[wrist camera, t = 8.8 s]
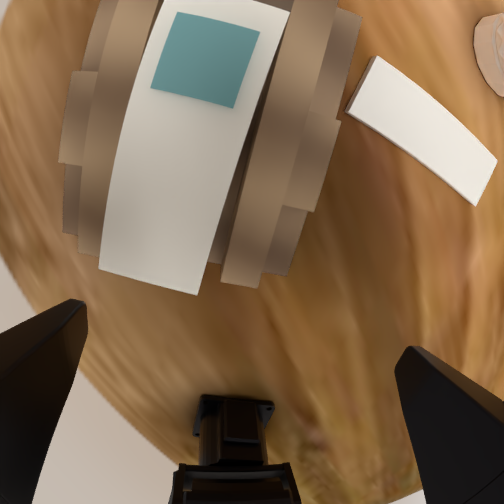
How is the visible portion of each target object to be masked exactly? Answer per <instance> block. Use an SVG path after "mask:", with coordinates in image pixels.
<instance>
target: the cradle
mask: <svg viewBox="0 0 504 504" xmlns="http://www.w3.org/2000/svg"><path fill="white" fill-rule="evenodd" d="M253 1H257V2H260V3H264V4H267V5H270V6H273V7H276V8H279V9H282V10H285V11H288V12H290V14H289V17H288V19H287V22H286V25H285V27H284V30H283V33H282V35H281V38H280V41H279V43H278V46H277V49H276V52H275V54H274V57H273V60H272V63H271V65H270V68H269V71H268V74H267V76H266V79H265V82H264V85H263V88H262V91H261V93H260V96H259V99H258V102H257V105H256V108H255V111H254V114H253V117H252V120H251V123H250V125H249V128H248V131H247V134H246V137H245V140H244V143H243V147H242V150H241V153H240V156H239V159H238V162H237V165H236V168H235V171H234V174H233V177H232V181H231V184H230V187H229V190H228V193H227V196H226V200H225V203H224V206H223V209H222V213H221V216H220V219H219V222H218V226H217V229H216V232H215V236H214V239H213V242H212V246H211V249H210V253H209V256H208V259H207V262H212V263H217V264H221V282H224V283H230V284H235V285H241V286H247V287H252V288H258V285H259V281H260V278H261V275H262V272H265V273H270V274H276V275H281V276H287V274H288V271H289V268H290V265H291V262H292V259H293V256H294V253H295V250H296V247H297V243H298V240H299V237H300V234H301V231H302V228H303V225H304V222H305V219H306V216H307V212H308V211H311V212H314V210H315V207H316V204H317V201H318V198H319V194H320V191H321V188H322V185H323V182H324V178H325V175H326V172H327V169H328V165H329V162H330V159H331V155H332V152H333V149H334V145H335V142H336V138H337V135H338V132H339V128H340V125H341V121H339V120H336V116H337V112H338V109H339V105H340V101H341V98H342V94H343V90H344V87H345V83H346V79H347V76H348V72H349V68H350V64H351V60H352V57H353V53H354V49H355V45H356V41H357V37H358V33H359V29H360V25H361V21H362V17H361V16H359V15H356V14H354V13H351V12H349V11H346V10H344V9H341V8H338V7H337V5H338V1H339V0H253ZM163 2H164V0H101V1H100V4H99V7H98V10H97V13H96V16H95V19H94V22H93V26H92V29H91V32H90V36H89V40H88V43H87V47H86V51H85V55H84V59H83V63H82V67H81V71H72V75H71V80H70V84H69V89H68V95H67V100H66V106H65V112H64V118H63V125H62V133H61V141H60V150H59V160H58V163H65V164H66V168H65V181H64V197H63V232H64V233H68V234H73V235H78V253H81V254H86V255H90V256H95V257H100V249H101V240H102V232H103V225H104V218H105V211H106V205H107V199H108V193H109V187H110V182H111V176H112V171H113V166H114V161H115V156H116V152H117V147H118V143H119V138H120V134H121V130H122V126H123V122H124V118H125V114H126V110H127V107H128V103H129V100H130V96H131V93H132V89H133V86H134V82H135V79H136V76H137V73H138V70H139V66H140V63H141V60H142V57H143V54H144V52H145V49H146V46H147V43H148V40H149V38H150V35H151V32H152V29H153V27H154V24H155V22H156V19H157V17H158V14H159V12H160V9H161V7H162V4H163Z"/></svg>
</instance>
